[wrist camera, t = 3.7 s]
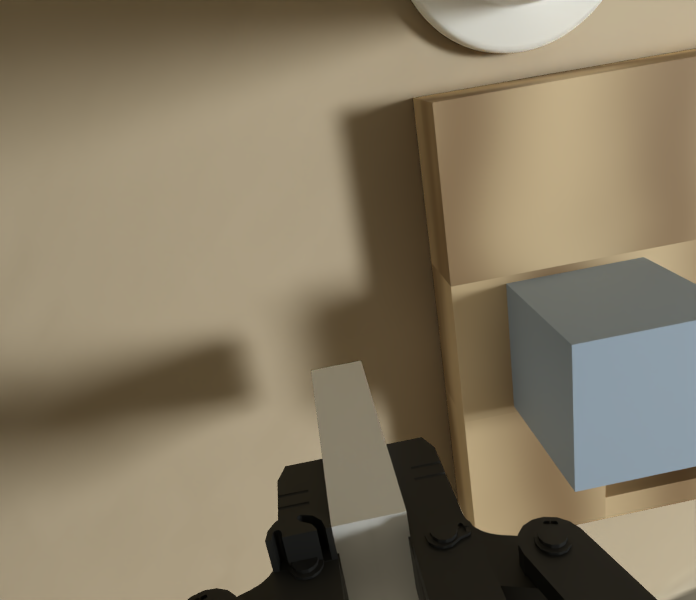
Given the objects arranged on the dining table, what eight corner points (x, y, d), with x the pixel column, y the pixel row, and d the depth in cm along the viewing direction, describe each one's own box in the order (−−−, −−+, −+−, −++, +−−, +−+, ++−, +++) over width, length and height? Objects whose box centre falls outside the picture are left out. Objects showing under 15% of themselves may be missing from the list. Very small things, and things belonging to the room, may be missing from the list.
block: (513, 405, 21) (575, 492, 17) (506, 283, 19) (572, 345, 15) (640, 380, 21) (732, 458, 17) (643, 257, 19) (746, 310, 15)
